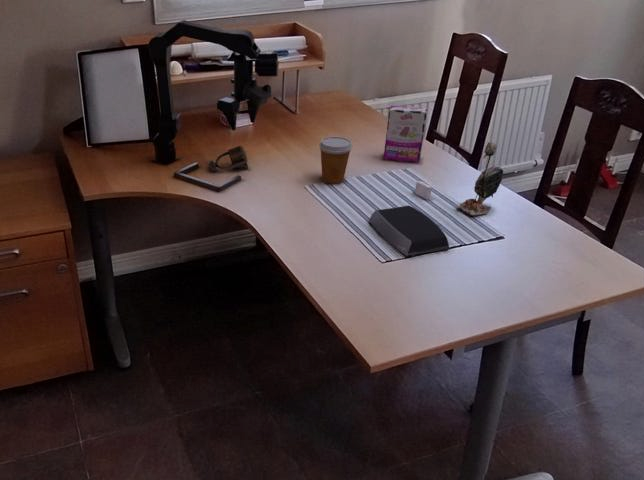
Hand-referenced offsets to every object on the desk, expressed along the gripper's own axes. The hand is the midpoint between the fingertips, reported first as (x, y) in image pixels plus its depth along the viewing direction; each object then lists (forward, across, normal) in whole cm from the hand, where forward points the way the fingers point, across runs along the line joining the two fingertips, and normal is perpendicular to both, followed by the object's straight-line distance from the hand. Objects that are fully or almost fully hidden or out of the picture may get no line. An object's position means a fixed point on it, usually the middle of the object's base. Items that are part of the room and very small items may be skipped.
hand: (243, 126), depth 197 cm
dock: (+12, -16, +1) cm, 20 cm away
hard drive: (+13, -11, -63) cm, 65 cm away
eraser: (+13, +13, -55) cm, 58 cm away
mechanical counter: (+13, -5, +1) cm, 14 cm away
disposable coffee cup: (+13, +7, -29) cm, 33 cm away
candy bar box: (+13, +34, -38) cm, 52 cm away
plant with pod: (+13, +14, -70) cm, 73 cm away
